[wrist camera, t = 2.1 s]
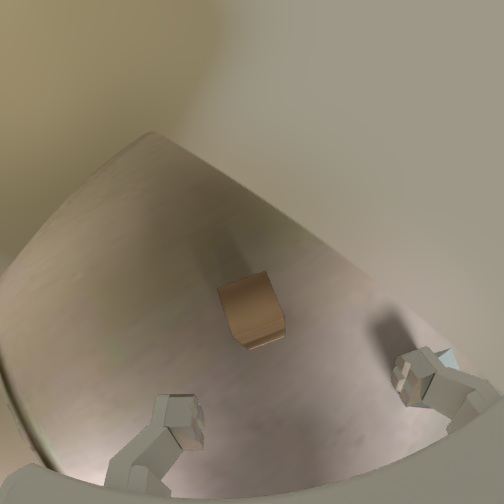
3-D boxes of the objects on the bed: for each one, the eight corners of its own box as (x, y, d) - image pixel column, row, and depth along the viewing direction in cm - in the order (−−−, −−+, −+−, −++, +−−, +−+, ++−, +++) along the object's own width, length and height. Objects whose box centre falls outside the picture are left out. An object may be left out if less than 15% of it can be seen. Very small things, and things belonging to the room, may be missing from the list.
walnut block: (285, 336, 34) (284, 317, 24) (248, 350, 34) (232, 336, 24) (271, 302, 36) (265, 270, 27) (236, 315, 36) (217, 288, 26)
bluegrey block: (433, 386, 27) (464, 384, 20) (404, 405, 27) (433, 408, 20) (421, 356, 30) (451, 348, 22) (392, 374, 29) (419, 370, 22)
